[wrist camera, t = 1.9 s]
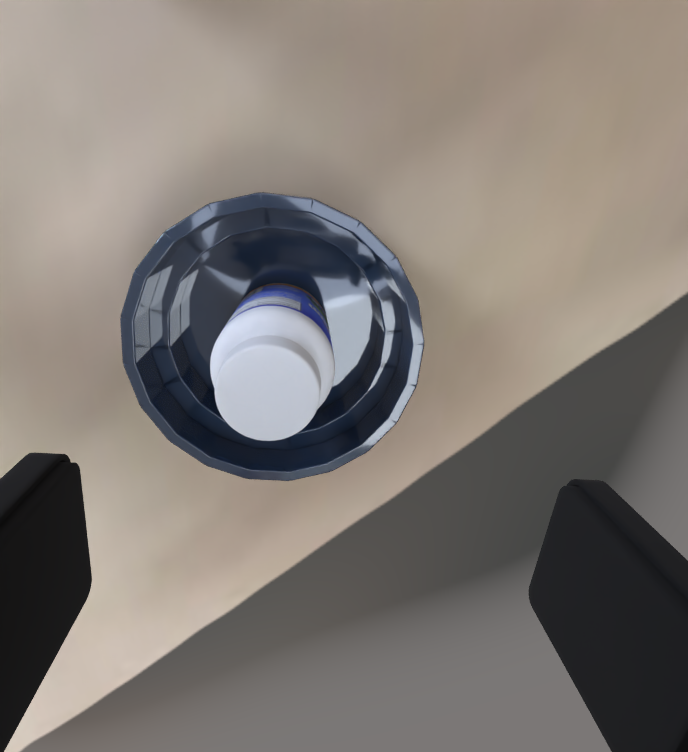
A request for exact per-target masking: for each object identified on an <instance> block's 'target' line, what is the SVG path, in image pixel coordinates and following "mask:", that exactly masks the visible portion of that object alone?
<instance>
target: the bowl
mask: <svg viewBox="0 0 688 752" xmlns="http://www.w3.org/2000/svg"><path fill="white" fill-rule="evenodd" d="M272 283H284V284H290V285H294V286H297V287H299V288H301V289H303V290H305V291H307V292H308V293H310V294H311V295H312V296H313V297H314V298H315V299H316V300H317V301H318V303H319V304H320V305H321V307H322V309H323V310H324V312H325V315H326V317H327V321H328V326H329V331H330V336H331V342H332V348H333V353H334V359H335V375H334V381H333V385H332V388H331V390H330V392H329V394H328V396H327V398H326V400H325V401H324V402H323V404H322V405H321V406H320V407H319V408H318V409H317V411H316V413H315V415H314V417H313V418H312V420H311V421H310V422H309V423H308V425H307V426H305V427H304V428H303V429H302V430H301V431H299V432H298V433H296V434H294V435H292V436H290V437H288V438H285V439H281V440H275V441H261V440H256V439H252V438H249V437H246V436H244V435H242V434H240V433H238V432H237V431H235V430H234V429H233V428H232V427H231V426H230V425H229V424H228V423H227V422H226V421H225V420H224V419H223V417H222V415H221V414H220V412H219V410H218V407H217V404H216V400H215V388H214V386H213V383H212V379H211V373H210V360H211V354H212V350H213V347H214V345H215V342H216V340H217V338H218V337H219V335H220V333H221V331H222V330H223V328H224V327H225V325H226V324H227V322H228V321H229V319H230V318H231V316H232V315H233V313H234V312H235V310H236V308H237V307H238V305H239V304H240V302H241V301H242V300H243V298H244V297H245V296H246V295H247V294H248V293H250V292H251V291H252V290H254V289H256V288H259V287H261V286H264V285H267V284H272ZM120 322H121V339H122V356H123V364H124V368H125V370H126V373H127V375H128V378H129V380H130V382H131V385H132V387H133V390H134V392H135V395H136V397H137V400H138V402H139V405H140V406H141V408H142V409H143V410H144V411H145V413H146V414H147V415H148V416H149V417H150V419H151V420H152V421H153V422H154V423H155V425H156V426H157V427H158V428H159V429H160V431H161V432H162V433H163V434H164V435H165V437H166V438H167V439H168V440H170V442H171V443H173V444H174V445H176V446H177V447H179V448H180V449H182V450H183V451H185V452H186V453H188V454H189V455H191V456H192V457H194V458H195V459H197V460H198V461H200V462H201V463H203V464H205V465H206V466H209V467H212V468H215V469H218V470H221V471H224V472H227V473H230V474H234V475H237V476H240V477H243V478H246V479H260V480H281V481H289V480H296V479H300V478H305V477H309V476H313V475H318V474H322V473H327V472H330V471H333V470H335V469H337V468H339V467H340V466H342V465H344V464H346V463H348V462H350V461H352V460H353V459H355V458H357V457H359V456H361V455H363V454H365V453H366V452H367V451H369V450H370V449H371V448H372V447H373V446H374V445H375V444H376V443H377V442H378V441H379V440H380V439H381V438H382V437H383V436H384V435H385V434H386V433H387V432H388V431H389V430H390V429H391V428H392V427H393V426H394V425H395V424H396V422H398V420H399V418H400V416H401V414H402V412H403V410H404V409H405V407H406V405H407V403H408V401H409V399H410V397H411V396H412V394H413V392H414V390H415V388H416V385H417V382H418V376H419V371H420V365H421V360H422V354H423V349H424V336H423V329H422V322H421V315H420V308H419V301H418V298H417V296H416V294H415V292H414V290H413V288H412V286H411V284H410V282H409V280H408V278H407V276H406V274H405V272H404V270H403V268H402V266H401V264H400V262H399V260H398V258H397V257H396V256H395V254H394V253H393V252H392V251H391V250H390V249H389V248H388V247H386V246H385V245H384V244H383V243H382V242H381V241H380V240H379V239H378V238H377V237H376V236H375V235H374V234H373V233H372V232H371V231H370V230H369V229H368V228H367V227H366V226H365V225H364V224H363V223H362V222H360V221H359V220H357V219H355V218H353V217H351V216H349V215H347V214H345V213H342V212H340V211H338V210H336V209H334V208H332V207H330V206H328V205H326V204H324V203H322V202H320V201H317V200H315V199H312V198H307V197H299V196H291V195H282V194H274V193H264V192H262V193H261V192H259V193H254V194H250V195H245V196H240V197H236V198H231V199H227V200H222V201H218V202H213V203H209V204H207V205H205V206H204V207H202V208H200V209H199V210H197V211H196V212H194V213H193V214H191V215H189V216H188V217H186V218H185V219H183V220H181V221H180V222H178V223H177V224H175V225H174V226H172V227H170V228H169V229H167V230H166V231H165V232H163V234H162V235H161V236H160V238H159V239H158V240H157V242H156V243H155V244H154V246H153V247H152V248H151V249H150V251H149V252H148V253H147V255H146V256H145V257H144V259H143V260H142V261H141V263H140V264H139V265H138V267H137V268H136V269H135V272H134V273H133V276H132V280H131V283H130V286H129V290H128V293H127V296H126V300H125V303H124V306H123V310H122V313H121V318H120Z"/></svg>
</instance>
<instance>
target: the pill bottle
mask: <svg viewBox="0 0 688 752" xmlns="http://www.w3.org/2000/svg"><path fill="white" fill-rule="evenodd" d="M210 373H211V379H212V383H213V386H214V388H215V400H216V404H217V407H218V410H219V412H220V414H221V415H222V417H223V419H224V420H225V421H226V422H227V423H228V424H229V425H230V426H231V427H232V428H233V429H234V430H235V431H237V432H238V433H240V434H242V435H244V436H246V437H249V438H252V439H256V440H261V441H275V440H281V439H285V438H288V437H290V436H292V435H294V434H296V433H298V432H299V431H301V430H302V429H303V428H304V427H305V426H307V425H308V423H309V422H310V421H311V420H312V418H313V417H314V415H315V413H316V411H317V409H318V408H319V407H320V406H321V405H322V404H323V402H324V401H325V400H326V398H327V396H328V394H329V392H330V390H331V388H332V385H333V381H334V375H335V359H334V353H333V348H332V342H331V336H330V331H329V326H328V321H327V317H326V315H325V312H324V310H323V309H322V307H321V305H320V304H319V303H318V301H317V300H316V299H315V298H314V297H313V296H312V295H311V294H310V293H308V292H307V291H305V290H303V289H301V288H299V287H297V286H294V285H290V284H284V283H272V284H267V285H264V286H261V287H259V288H256V289H254V290H252V291H251V292H250V293H248V294H247V295H246V296H245V297H244V298H243V300H242V301H241V302H240V304H239V305H238V307H237V308H236V310H235V312H234V313H233V315H232V316H231V318H230V319H229V321H228V322H227V324H226V325H225V327H224V328H223V330H222V331H221V333H220V335H219V337H218V338H217V340H216V342H215V345H214V347H213V350H212V354H211V360H210Z"/></svg>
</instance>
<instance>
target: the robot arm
mask: <svg viewBox="0 0 688 752" xmlns="http://www.w3.org/2000/svg"><path fill="white" fill-rule="evenodd" d="M91 582H92V576H91V566H90V557H89V548H88V539H87V530H86V520H85V511H84V502H83V493H82V484H81V475H80V468H79V466H78V464H77V463H71V462H70V459H69V457H68V456H67V455H65V454H50V453H29V454H28V455H26V456H25V457H24V458H23V459H22V460H20V461H19V462H18V463H17V464H16V465H15V466H14V467H13V468H12V469H11V470H10V471H9V472H7V473H6V474H5V475H4V476H3V477H2V478H1V479H0V752H4V750H5V749H6V747H7V745H8V743H9V741H10V739H11V738H12V736H13V734H14V732H15V730H16V728H17V727H18V725H19V723H20V721H21V719H22V717H23V716H24V714H25V712H26V710H27V708H28V706H29V705H30V703H31V701H32V699H33V697H34V695H35V694H36V692H37V690H38V688H39V686H40V684H41V682H42V681H43V679H44V677H45V675H46V673H47V671H48V670H49V668H50V666H51V664H52V662H53V660H54V659H55V657H56V655H57V653H58V651H59V649H60V648H61V646H62V644H63V642H64V640H65V638H66V637H67V635H68V633H69V631H70V629H71V627H72V625H73V624H74V622H75V620H76V618H77V616H78V614H79V613H80V611H81V609H82V607H83V605H84V603H85V602H86V600H87V597H88V595H89V592H90V588H91ZM529 599H530V603H531V606H532V608H533V610H534V612H535V613H536V615H537V617H538V619H539V621H540V622H541V624H542V626H543V628H544V630H545V632H546V633H547V635H548V637H549V639H550V641H551V642H552V644H553V646H554V648H555V649H556V651H557V653H558V655H559V657H560V658H561V660H562V662H563V664H564V666H565V667H566V670H567V671H568V673H569V675H570V677H571V679H572V680H573V682H574V684H575V686H576V688H577V689H578V691H579V693H580V695H581V697H582V698H583V700H584V702H585V704H586V706H587V708H588V709H589V711H590V713H591V715H592V717H593V718H594V720H595V722H596V724H597V726H598V728H599V729H600V731H601V733H602V735H603V737H604V738H605V740H606V742H607V744H608V746H609V747H610V749H611V751H612V752H688V561H687V560H686V559H685V558H684V557H683V556H682V555H681V554H680V553H679V552H678V551H677V550H676V549H675V548H674V547H673V546H672V545H671V544H670V543H668V542H667V541H666V540H665V539H664V538H663V537H662V536H661V535H660V534H659V533H658V532H657V531H656V530H655V529H654V528H653V527H652V526H651V525H649V523H647V522H646V521H645V520H644V519H643V518H642V517H641V516H640V515H639V514H638V513H637V512H636V511H635V510H634V509H633V508H632V507H631V506H630V505H629V504H628V503H627V502H625V501H624V500H623V499H622V498H621V497H620V496H619V495H618V494H617V493H616V492H615V491H614V490H613V489H612V488H611V487H610V486H609V485H608V484H606V483H605V482H603V481H599V480H580V479H574V480H571V481H570V482H569V483H568V484H567V486H564V487H562V488H561V489H560V491H559V494H558V497H557V500H556V503H555V507H554V510H553V513H552V516H551V519H550V522H549V526H548V529H547V532H546V535H545V539H544V542H543V545H542V548H541V551H540V555H539V558H538V561H537V564H536V567H535V571H534V574H533V577H532V580H531V584H530V586H529Z"/></svg>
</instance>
